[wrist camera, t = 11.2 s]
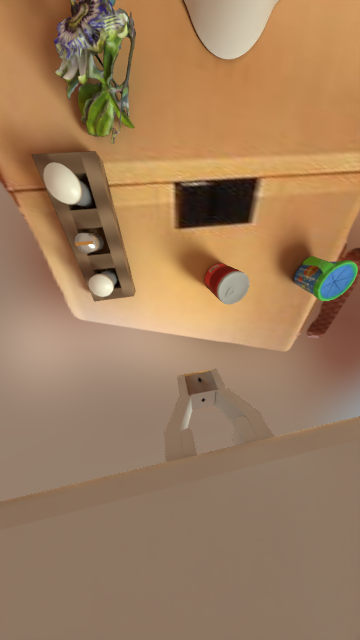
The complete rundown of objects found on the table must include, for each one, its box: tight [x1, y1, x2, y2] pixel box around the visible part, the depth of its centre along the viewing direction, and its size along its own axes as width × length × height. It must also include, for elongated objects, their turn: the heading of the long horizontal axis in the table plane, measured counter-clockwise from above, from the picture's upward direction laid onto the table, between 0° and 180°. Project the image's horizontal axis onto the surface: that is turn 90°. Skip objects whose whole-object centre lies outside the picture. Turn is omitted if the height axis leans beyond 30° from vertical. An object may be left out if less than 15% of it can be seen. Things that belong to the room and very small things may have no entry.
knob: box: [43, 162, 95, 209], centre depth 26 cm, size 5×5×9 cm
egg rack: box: [31, 151, 135, 301], centre depth 32 cm, size 26×10×4 cm, turn 5°
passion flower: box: [54, 0, 136, 144], centre depth 21 cm, size 11×11×12 cm
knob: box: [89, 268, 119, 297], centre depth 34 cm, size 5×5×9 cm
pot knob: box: [75, 233, 104, 253], centre depth 29 cm, size 3×3×6 cm
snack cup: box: [294, 256, 358, 301], centre depth 42 cm, size 16×10×10 cm
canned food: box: [205, 264, 249, 304], centre depth 38 cm, size 8×8×11 cm
